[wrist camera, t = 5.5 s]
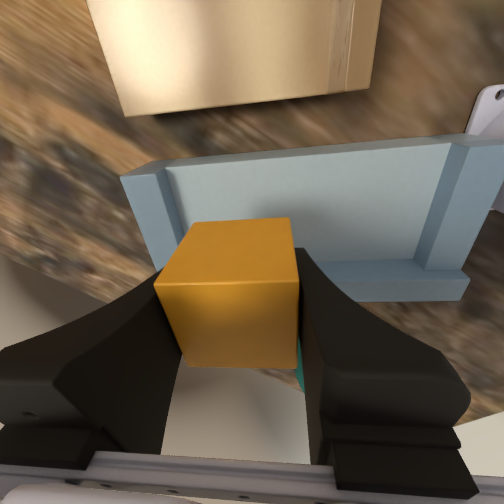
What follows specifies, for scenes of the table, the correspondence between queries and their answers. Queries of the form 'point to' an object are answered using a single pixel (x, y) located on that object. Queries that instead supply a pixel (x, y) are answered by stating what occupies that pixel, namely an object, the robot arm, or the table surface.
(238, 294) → the block
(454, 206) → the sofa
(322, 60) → the low wooden bench
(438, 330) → the table surface
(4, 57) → the table surface
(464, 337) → the table surface
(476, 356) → the table surface
